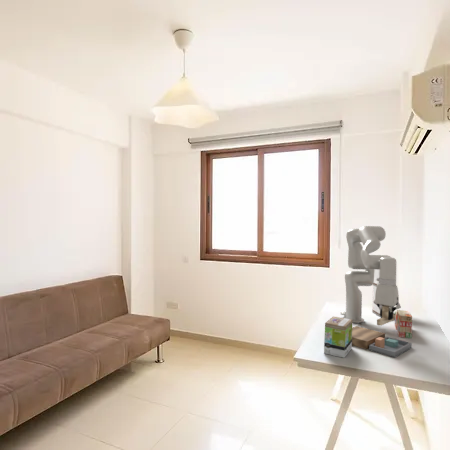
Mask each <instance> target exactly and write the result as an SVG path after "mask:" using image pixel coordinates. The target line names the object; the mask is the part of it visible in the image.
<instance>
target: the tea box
mask: <svg viewBox="0 0 450 450" xmlns="http://www.w3.org/2000/svg"><path fill="white" fill-rule="evenodd" d="M352 328H353V323H352V319H346V318H343V317H338V316H332V317H331V318H329V319H328V320H326V322H325V323H324V340H323V343H324V344H323V354H326V355H329V356H334V357H338V358H343V359H344V358H346V357H347V355H348V354H349V352H351V350H352V346H353V345H352Z"/></svg>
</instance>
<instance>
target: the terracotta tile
mask: <svg viewBox="0 0 450 450" xmlns="http://www.w3.org/2000/svg"><path fill="white" fill-rule="evenodd" d="M384 345H385V338H382V337H378V338H376V339H375V346H376V347H380V348H384Z"/></svg>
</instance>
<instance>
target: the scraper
mask: <svg viewBox="0 0 450 450" xmlns="http://www.w3.org/2000/svg"><path fill="white" fill-rule="evenodd" d="M388 312H389V306H386V305H384V306H382V318H381V317H379V318H377V319H376V325H377V326H383V325H387V324H389V323H391V322H392V321H395V315H394V314H395V313H394V314H393V318H392V319H391V320H388Z"/></svg>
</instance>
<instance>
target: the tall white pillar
mask: <svg viewBox="0 0 450 450" xmlns="http://www.w3.org/2000/svg"><path fill="white" fill-rule="evenodd" d="M377 278H379V270H377V269H375V271H374V283H373V285H372V304H371V305H372V314H374V315H376V316H378V317H379V318H381V316H380V309H379V307H378V306H377V305H376V304H374V303H373V302H374V300H375V293H376V287H377V284H379V281H377ZM393 314H394V315H395V311H393Z"/></svg>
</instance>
